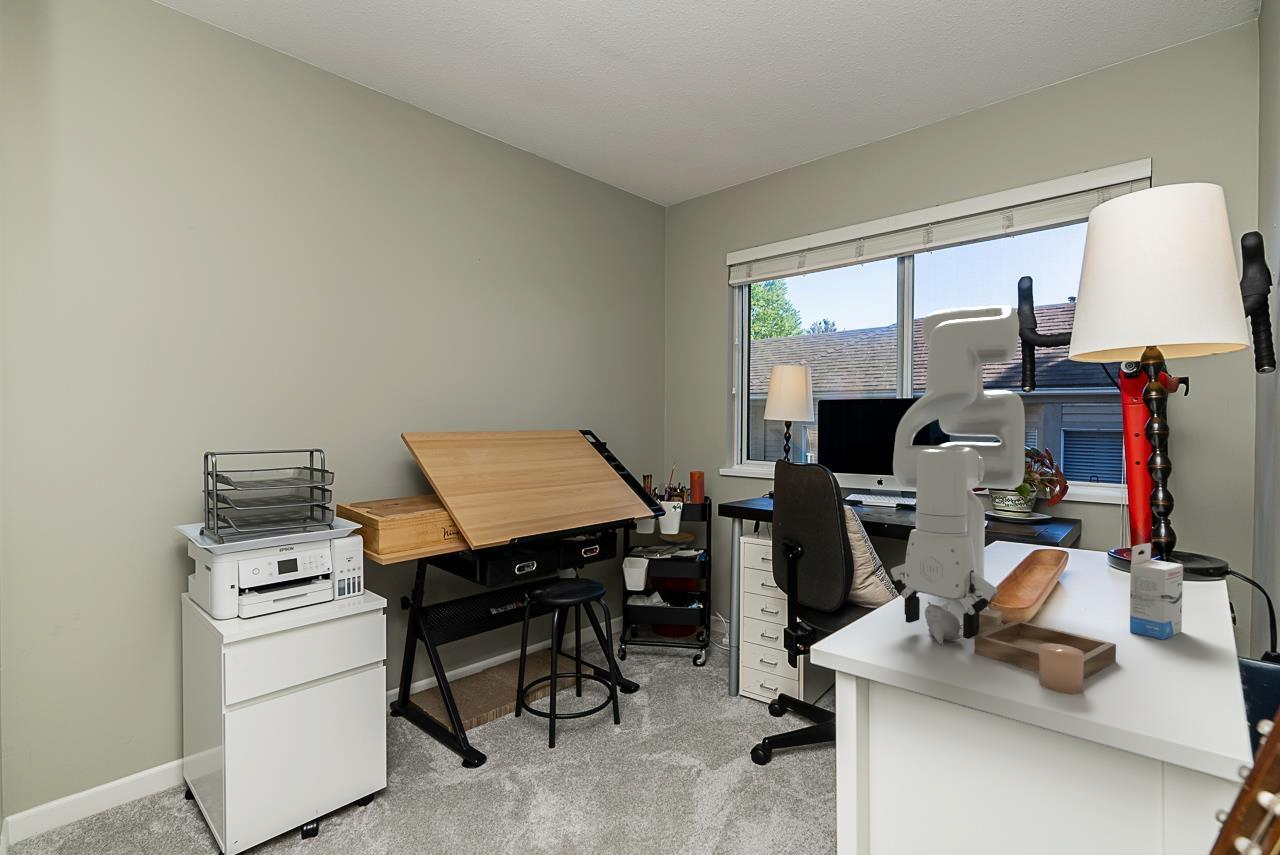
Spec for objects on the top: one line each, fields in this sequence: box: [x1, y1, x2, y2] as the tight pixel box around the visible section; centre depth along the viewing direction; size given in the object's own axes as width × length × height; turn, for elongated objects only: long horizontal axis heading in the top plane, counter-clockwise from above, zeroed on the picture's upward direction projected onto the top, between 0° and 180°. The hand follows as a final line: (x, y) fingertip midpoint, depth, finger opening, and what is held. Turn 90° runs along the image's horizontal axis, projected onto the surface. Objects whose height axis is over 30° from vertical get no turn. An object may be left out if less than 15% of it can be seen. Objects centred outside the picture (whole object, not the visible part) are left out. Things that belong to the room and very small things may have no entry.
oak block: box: [977, 608, 1003, 635], centre depth 106 cm, size 4×4×4 cm
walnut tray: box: [973, 619, 1117, 681], centre depth 96 cm, size 14×14×3 cm
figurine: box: [924, 601, 963, 646], centre depth 103 cm, size 8×6×8 cm
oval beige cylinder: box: [1038, 643, 1084, 695], centre depth 85 cm, size 5×5×5 cm
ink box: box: [1129, 542, 1184, 640], centre depth 108 cm, size 8×5×15 cm, turn 123°
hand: (940, 628), depth 103 cm, fingers open, 9 cm apart
